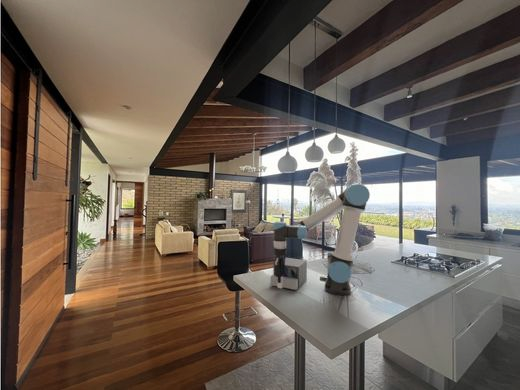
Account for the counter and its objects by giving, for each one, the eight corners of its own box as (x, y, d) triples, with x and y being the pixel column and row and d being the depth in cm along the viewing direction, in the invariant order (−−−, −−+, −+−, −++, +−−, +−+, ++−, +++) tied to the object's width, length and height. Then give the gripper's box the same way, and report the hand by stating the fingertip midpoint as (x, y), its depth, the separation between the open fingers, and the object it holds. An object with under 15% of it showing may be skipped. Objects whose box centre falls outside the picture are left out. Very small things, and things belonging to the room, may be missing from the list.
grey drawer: (305, 279, 150) (305, 271, 150) (296, 289, 131) (296, 280, 131) (282, 275, 158) (282, 267, 158) (270, 284, 139) (270, 276, 139)
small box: (281, 279, 146) (281, 263, 147) (285, 276, 152) (285, 261, 153) (297, 282, 142) (297, 265, 142) (300, 279, 148) (300, 263, 148)
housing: (306, 280, 151) (306, 260, 152) (298, 289, 135) (298, 266, 136) (283, 276, 159) (283, 257, 160) (273, 284, 143) (273, 263, 144)
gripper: (278, 245, 139) (278, 283, 138) (269, 249, 127) (269, 290, 126) (289, 246, 135) (289, 285, 134) (281, 250, 124) (281, 292, 123)
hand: (280, 287), depth 130 cm, fingers closed
